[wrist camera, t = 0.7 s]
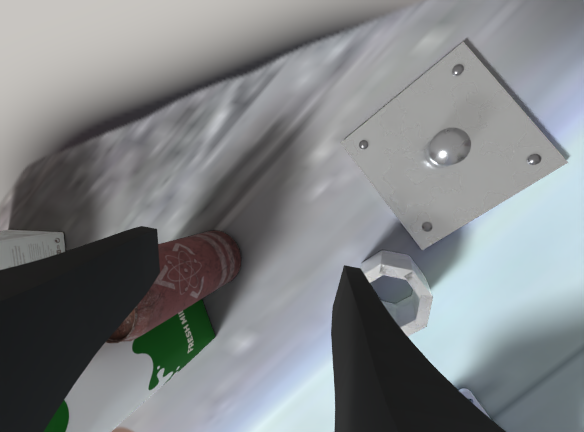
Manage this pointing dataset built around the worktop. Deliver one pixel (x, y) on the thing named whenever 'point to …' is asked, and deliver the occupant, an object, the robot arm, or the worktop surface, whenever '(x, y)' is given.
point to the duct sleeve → (417, 306)
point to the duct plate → (450, 148)
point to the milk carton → (132, 373)
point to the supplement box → (28, 246)
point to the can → (182, 280)
